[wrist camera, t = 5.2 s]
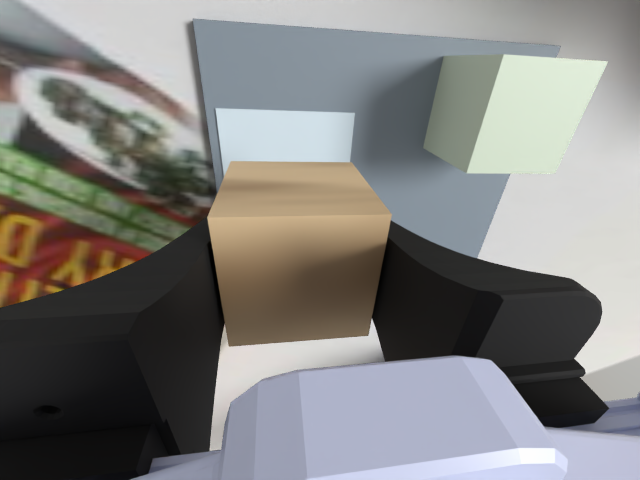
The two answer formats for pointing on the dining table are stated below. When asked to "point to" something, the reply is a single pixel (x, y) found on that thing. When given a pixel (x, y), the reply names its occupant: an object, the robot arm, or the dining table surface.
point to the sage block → (508, 111)
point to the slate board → (348, 114)
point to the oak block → (297, 250)
